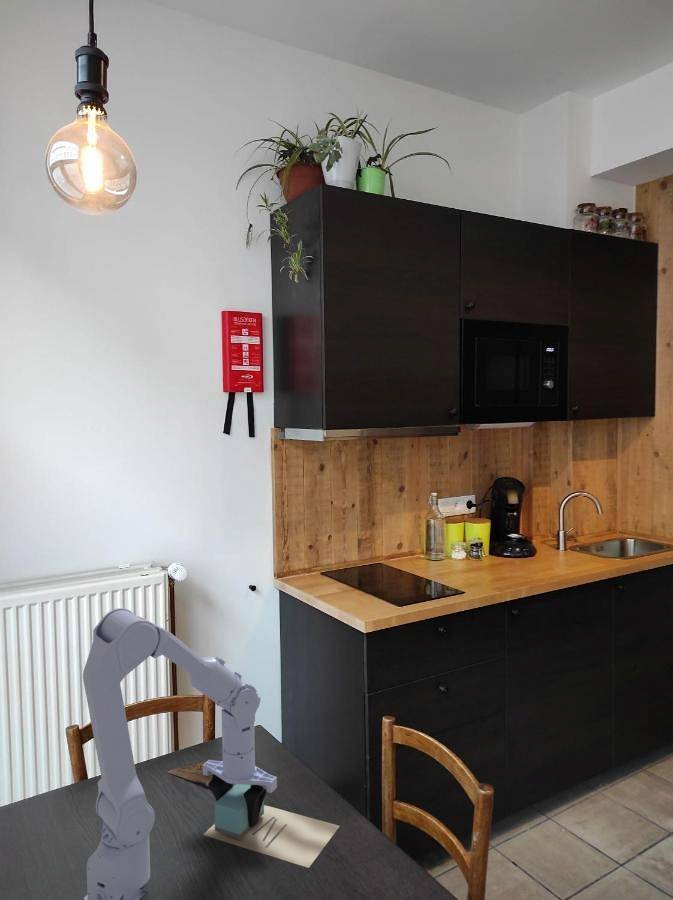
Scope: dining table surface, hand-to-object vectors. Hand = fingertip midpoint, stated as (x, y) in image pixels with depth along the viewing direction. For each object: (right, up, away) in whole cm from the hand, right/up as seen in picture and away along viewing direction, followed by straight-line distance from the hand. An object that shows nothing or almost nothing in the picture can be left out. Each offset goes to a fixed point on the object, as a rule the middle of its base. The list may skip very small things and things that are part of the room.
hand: (240, 820), depth 120 cm
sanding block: (0, 0, 0) cm, 0 cm away
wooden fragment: (-6, -2, +18) cm, 19 cm away
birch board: (+6, -2, -1) cm, 7 cm away
